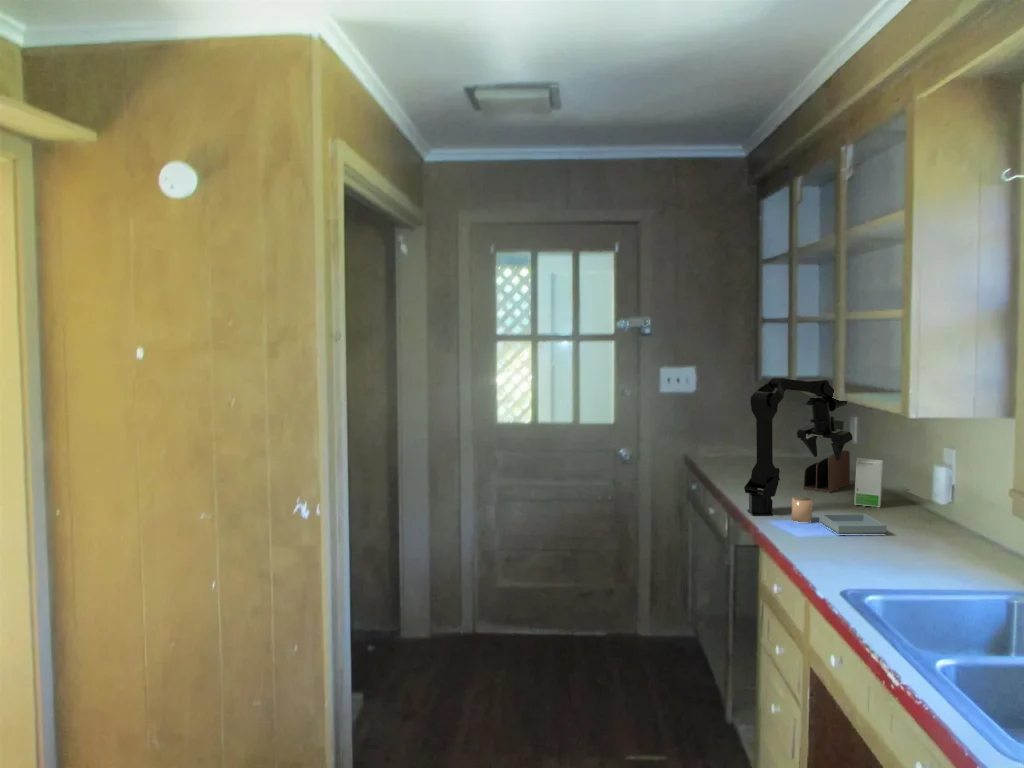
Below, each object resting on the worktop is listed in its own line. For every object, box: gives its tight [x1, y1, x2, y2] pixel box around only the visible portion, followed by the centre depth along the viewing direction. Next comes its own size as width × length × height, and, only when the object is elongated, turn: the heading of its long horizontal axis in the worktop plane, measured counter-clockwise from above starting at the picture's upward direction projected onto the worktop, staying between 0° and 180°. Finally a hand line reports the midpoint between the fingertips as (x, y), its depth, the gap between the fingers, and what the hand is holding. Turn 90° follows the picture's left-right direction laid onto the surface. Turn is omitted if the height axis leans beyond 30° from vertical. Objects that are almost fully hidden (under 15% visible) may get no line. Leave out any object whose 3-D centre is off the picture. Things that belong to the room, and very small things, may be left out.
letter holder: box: [803, 450, 851, 493], centre depth 295 cm, size 10×20×14 cm, turn 137°
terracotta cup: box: [791, 496, 813, 522], centre depth 246 cm, size 6×6×7 cm
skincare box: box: [853, 457, 884, 508], centre depth 265 cm, size 8×7×16 cm
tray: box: [818, 513, 888, 535], centre depth 235 cm, size 14×14×3 cm
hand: (826, 458), depth 270 cm, fingers open, 9 cm apart
